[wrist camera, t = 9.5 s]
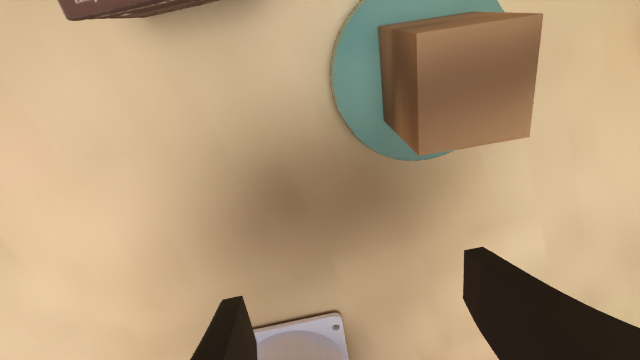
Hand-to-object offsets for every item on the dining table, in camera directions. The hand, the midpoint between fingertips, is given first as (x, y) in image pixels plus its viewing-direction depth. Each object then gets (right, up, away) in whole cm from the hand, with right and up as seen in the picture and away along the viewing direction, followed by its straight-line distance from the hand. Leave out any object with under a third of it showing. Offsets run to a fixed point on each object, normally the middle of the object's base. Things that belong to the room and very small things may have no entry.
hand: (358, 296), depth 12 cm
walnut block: (+4, +9, +6) cm, 12 cm away
